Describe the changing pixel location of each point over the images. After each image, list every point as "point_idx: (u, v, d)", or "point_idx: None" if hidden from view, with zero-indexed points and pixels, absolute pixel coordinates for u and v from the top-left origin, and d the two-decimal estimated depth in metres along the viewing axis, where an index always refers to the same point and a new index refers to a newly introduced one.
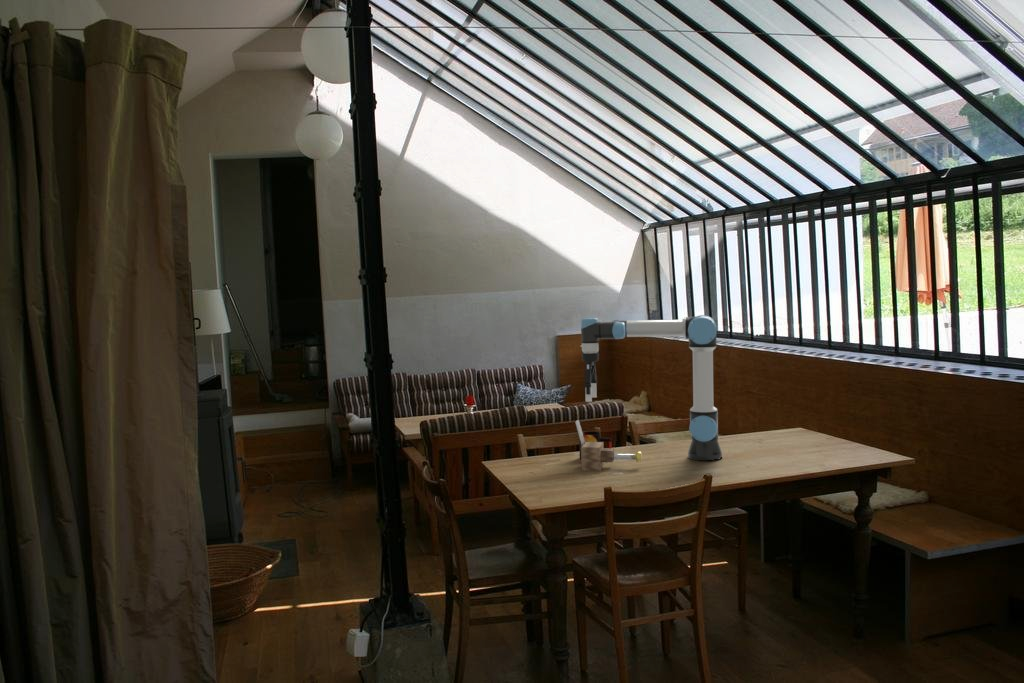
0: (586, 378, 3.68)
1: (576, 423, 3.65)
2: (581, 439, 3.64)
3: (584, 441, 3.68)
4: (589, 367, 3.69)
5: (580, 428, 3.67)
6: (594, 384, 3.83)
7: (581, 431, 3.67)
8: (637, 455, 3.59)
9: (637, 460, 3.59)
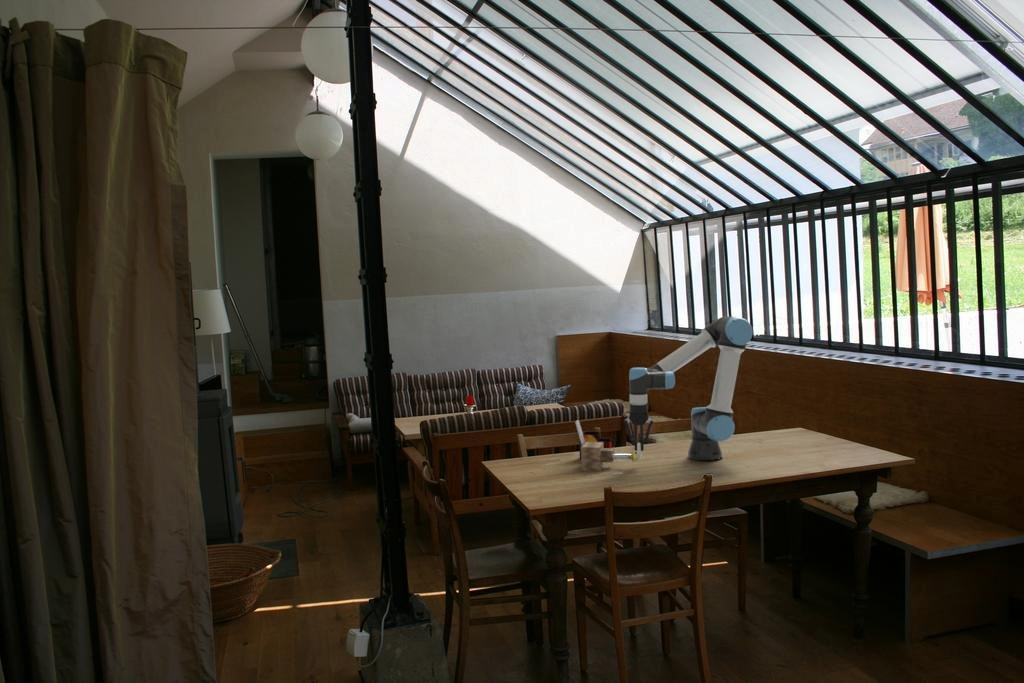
0: None
1: (576, 423, 3.65)
2: (581, 439, 3.64)
3: (584, 441, 3.68)
4: None
5: (580, 428, 3.67)
6: (638, 444, 3.60)
7: (581, 431, 3.67)
8: (633, 455, 3.59)
9: (633, 460, 3.60)
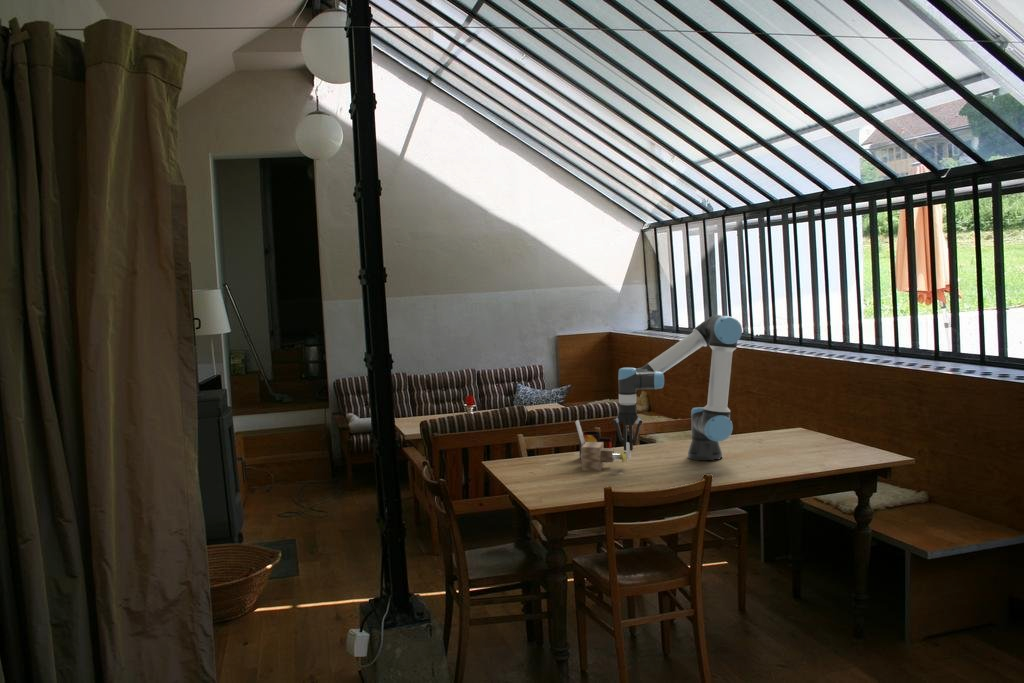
0: None
1: (576, 423, 3.65)
2: (581, 439, 3.64)
3: (584, 441, 3.68)
4: None
5: (580, 428, 3.67)
6: (628, 444, 3.61)
7: (581, 431, 3.67)
8: (623, 455, 3.61)
9: (623, 460, 3.61)
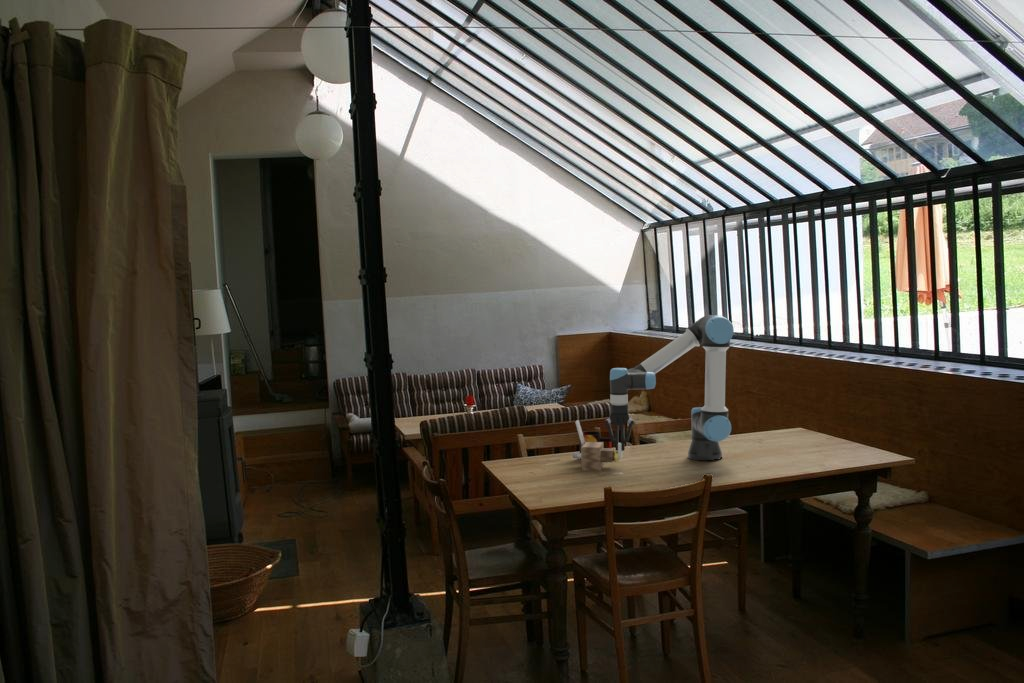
0: None
1: (576, 423, 3.65)
2: (581, 439, 3.64)
3: (584, 441, 3.68)
4: None
5: (580, 428, 3.67)
6: (619, 444, 3.62)
7: (581, 431, 3.67)
8: (614, 454, 3.62)
9: (614, 459, 3.62)
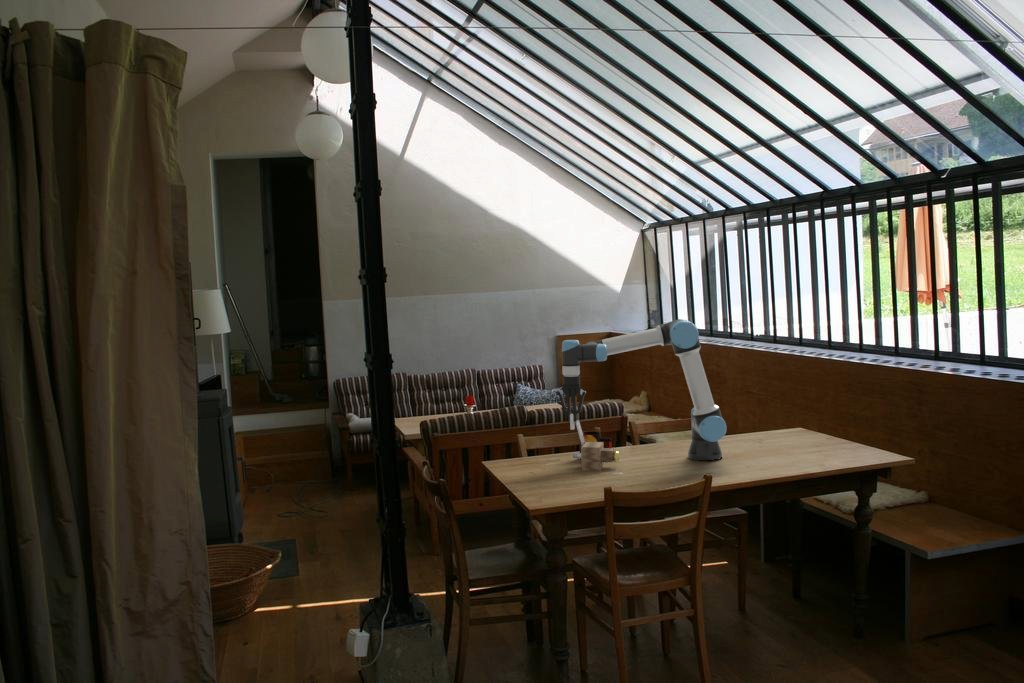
0: None
1: (576, 423, 3.64)
2: (581, 439, 3.64)
3: (584, 441, 3.68)
4: None
5: (580, 428, 3.67)
6: None
7: (581, 431, 3.67)
8: (614, 454, 3.62)
9: (614, 459, 3.62)
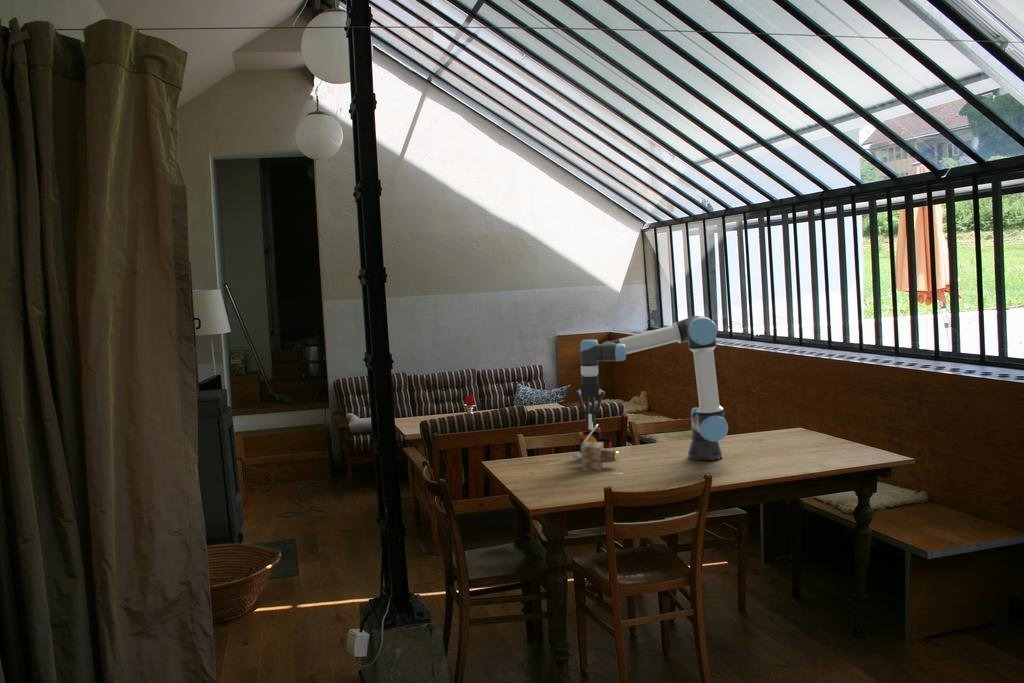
0: None
1: (595, 427, 3.63)
2: (585, 440, 3.64)
3: None
4: None
5: None
6: None
7: None
8: (614, 454, 3.62)
9: (614, 459, 3.62)
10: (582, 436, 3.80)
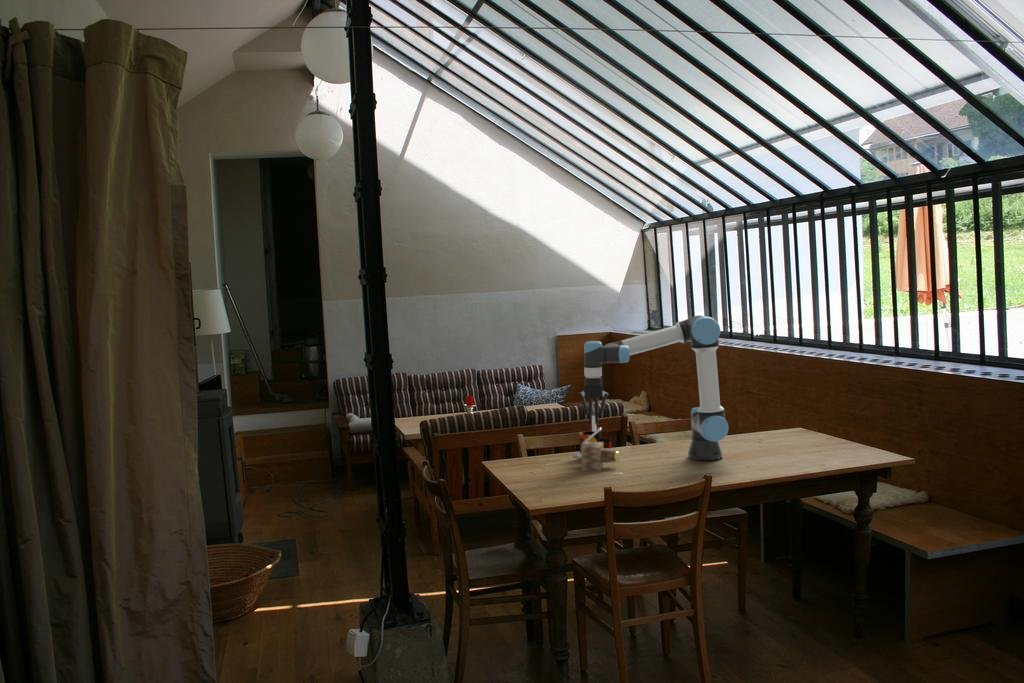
0: None
1: (598, 430, 3.62)
2: (586, 441, 3.64)
3: None
4: None
5: None
6: (593, 417, 3.64)
7: None
8: (614, 454, 3.62)
9: (614, 459, 3.62)
10: (582, 436, 3.80)
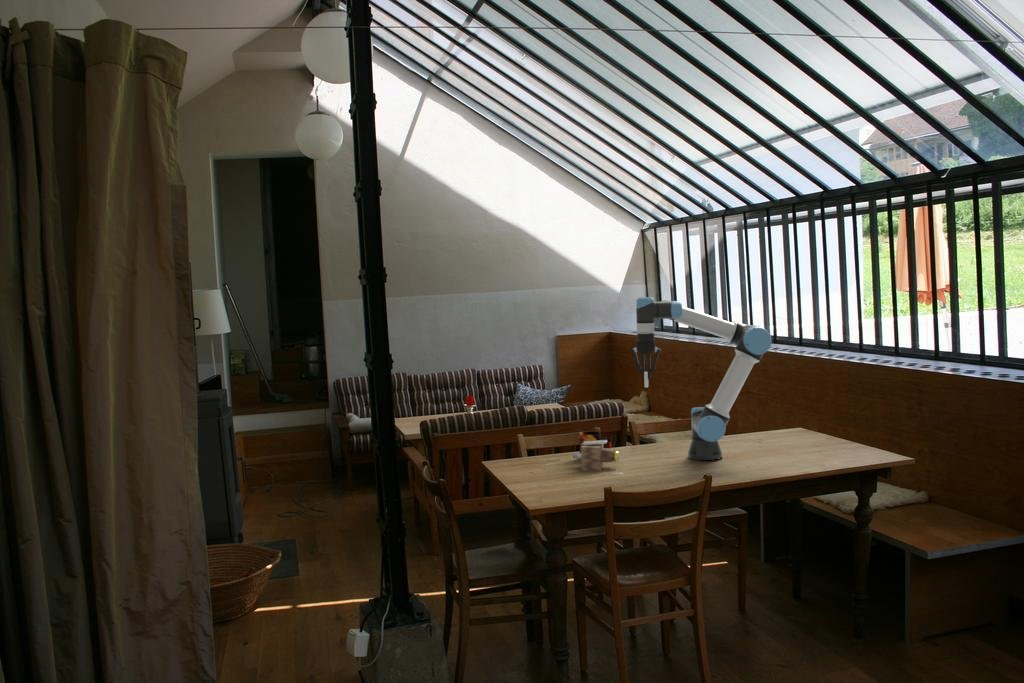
0: None
1: (603, 442, 3.62)
2: (587, 444, 3.64)
3: None
4: None
5: None
6: None
7: None
8: (614, 454, 3.62)
9: (614, 459, 3.62)
10: (582, 436, 3.80)
